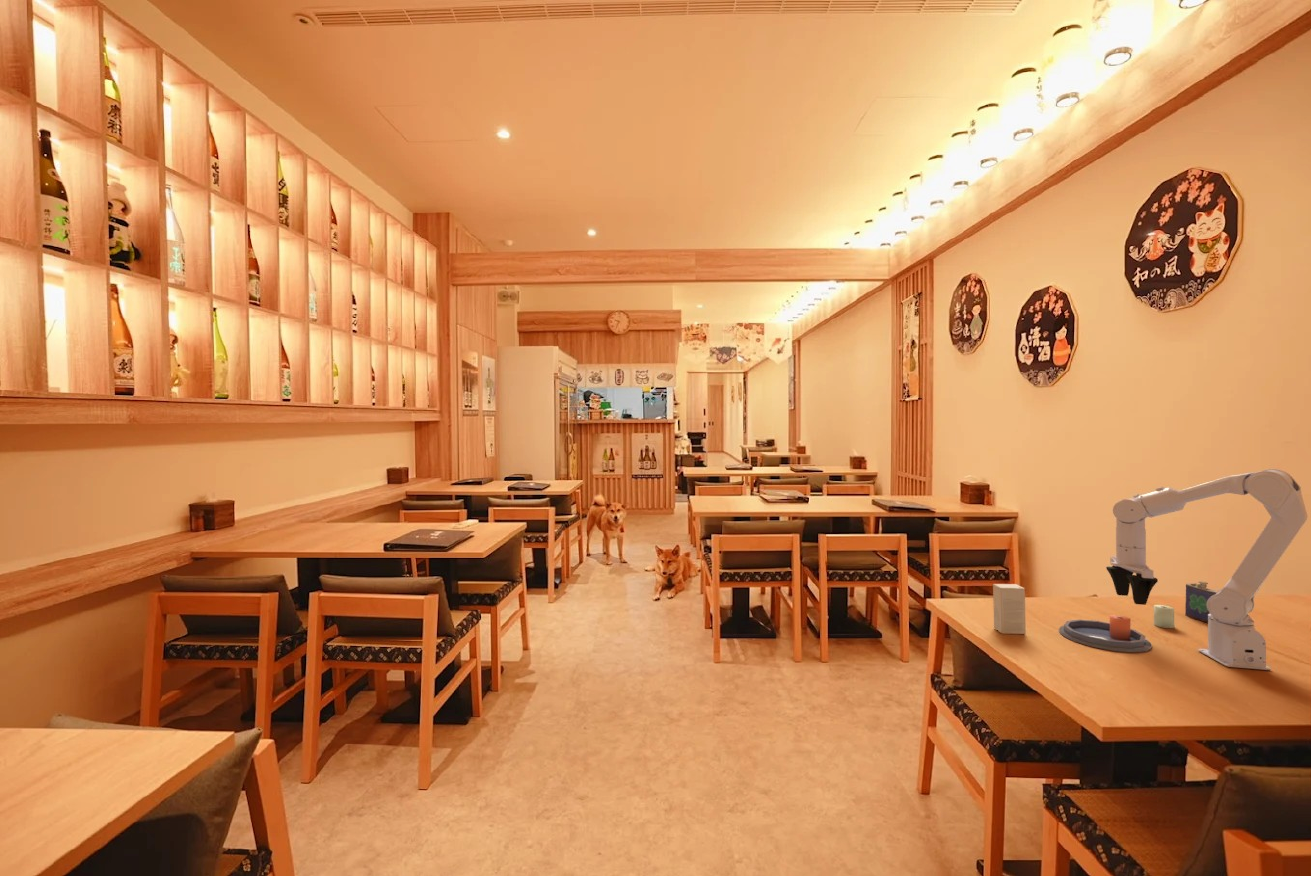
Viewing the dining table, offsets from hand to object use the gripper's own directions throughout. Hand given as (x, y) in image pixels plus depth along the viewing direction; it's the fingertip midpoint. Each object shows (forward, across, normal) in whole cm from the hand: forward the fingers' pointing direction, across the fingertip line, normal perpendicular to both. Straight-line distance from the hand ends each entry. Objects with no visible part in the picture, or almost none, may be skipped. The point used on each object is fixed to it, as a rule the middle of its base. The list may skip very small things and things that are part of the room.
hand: (1131, 599), depth 139 cm
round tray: (+9, +3, -8) cm, 12 cm away
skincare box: (+10, +3, -28) cm, 30 cm away
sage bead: (+9, -10, +13) cm, 19 cm away
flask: (+10, -18, +26) cm, 33 cm away
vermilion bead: (+9, +3, -4) cm, 10 cm away
